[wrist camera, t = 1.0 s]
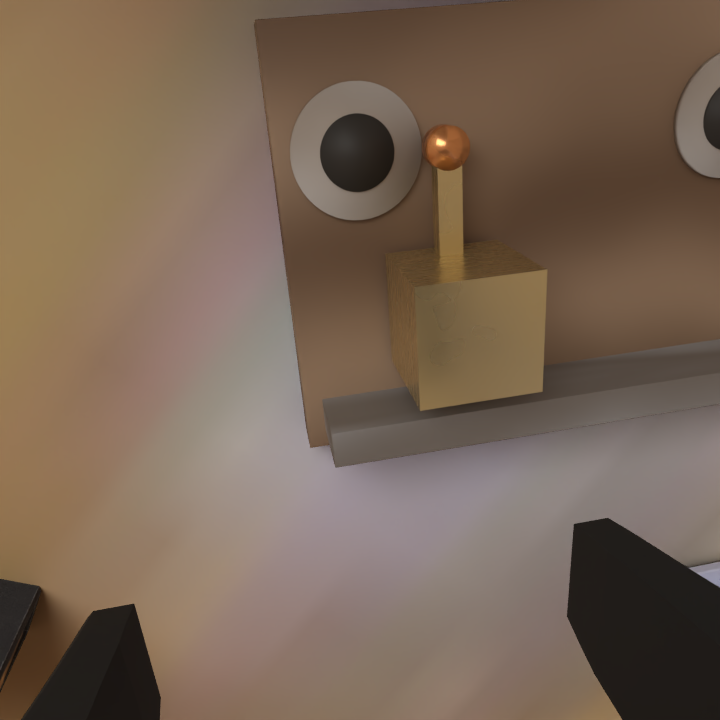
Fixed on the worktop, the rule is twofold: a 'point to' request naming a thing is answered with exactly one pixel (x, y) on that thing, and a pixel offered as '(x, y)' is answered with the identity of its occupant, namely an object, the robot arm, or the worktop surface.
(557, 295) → the hole plate
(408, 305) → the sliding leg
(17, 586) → the ammunition clip
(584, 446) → the worktop surface
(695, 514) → the worktop surface
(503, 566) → the worktop surface
